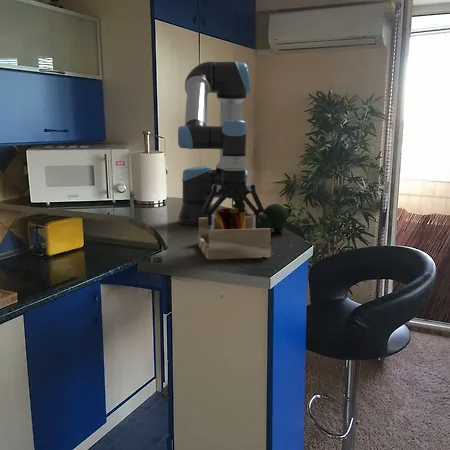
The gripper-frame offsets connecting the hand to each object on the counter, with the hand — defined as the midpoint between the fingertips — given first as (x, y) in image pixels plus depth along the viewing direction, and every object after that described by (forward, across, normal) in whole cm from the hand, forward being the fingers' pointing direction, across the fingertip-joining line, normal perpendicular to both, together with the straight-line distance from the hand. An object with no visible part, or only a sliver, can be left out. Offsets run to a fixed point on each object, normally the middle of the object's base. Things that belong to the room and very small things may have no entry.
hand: (232, 234), depth 172 cm
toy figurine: (+6, +17, +24) cm, 30 cm away
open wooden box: (+5, 0, 0) cm, 5 cm away
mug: (+5, 0, 0) cm, 5 cm away
